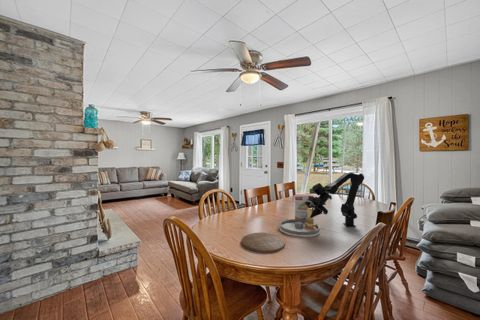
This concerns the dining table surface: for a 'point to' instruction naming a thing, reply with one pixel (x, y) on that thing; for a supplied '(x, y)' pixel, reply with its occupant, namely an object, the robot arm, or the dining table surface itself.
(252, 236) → the trivet
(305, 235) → the round grey tray
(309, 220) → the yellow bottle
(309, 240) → the dining table surface
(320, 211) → the robot arm
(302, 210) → the cracker box
